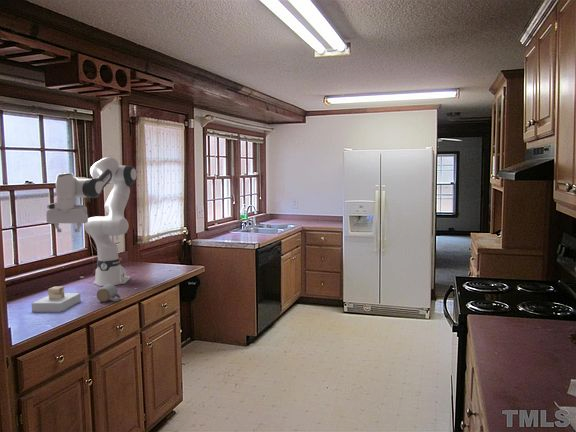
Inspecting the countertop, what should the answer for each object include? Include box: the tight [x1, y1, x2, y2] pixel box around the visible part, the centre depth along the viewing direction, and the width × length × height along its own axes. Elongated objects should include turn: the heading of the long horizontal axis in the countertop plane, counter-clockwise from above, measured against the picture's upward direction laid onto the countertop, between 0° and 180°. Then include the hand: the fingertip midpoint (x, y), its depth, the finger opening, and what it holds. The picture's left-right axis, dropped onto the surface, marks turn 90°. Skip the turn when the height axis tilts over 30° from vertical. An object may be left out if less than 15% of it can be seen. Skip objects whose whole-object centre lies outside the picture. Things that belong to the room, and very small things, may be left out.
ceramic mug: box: [96, 284, 121, 303], centre depth 238 cm, size 11×8×8 cm
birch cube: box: [47, 286, 65, 299], centre depth 229 cm, size 5×5×5 cm
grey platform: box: [31, 292, 82, 313], centre depth 229 cm, size 18×14×4 cm
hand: (68, 232), depth 240 cm, fingers open, 8 cm apart
